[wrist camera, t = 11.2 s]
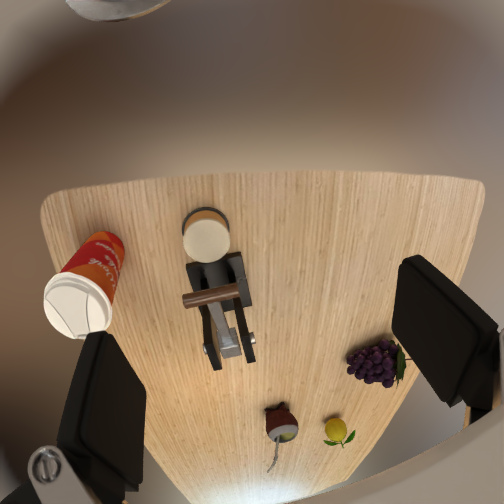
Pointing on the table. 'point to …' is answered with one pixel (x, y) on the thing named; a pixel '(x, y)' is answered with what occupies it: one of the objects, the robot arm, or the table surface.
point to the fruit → (378, 363)
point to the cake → (206, 235)
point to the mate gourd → (280, 426)
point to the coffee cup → (85, 287)
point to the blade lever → (218, 315)
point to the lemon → (337, 432)
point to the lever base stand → (223, 302)
